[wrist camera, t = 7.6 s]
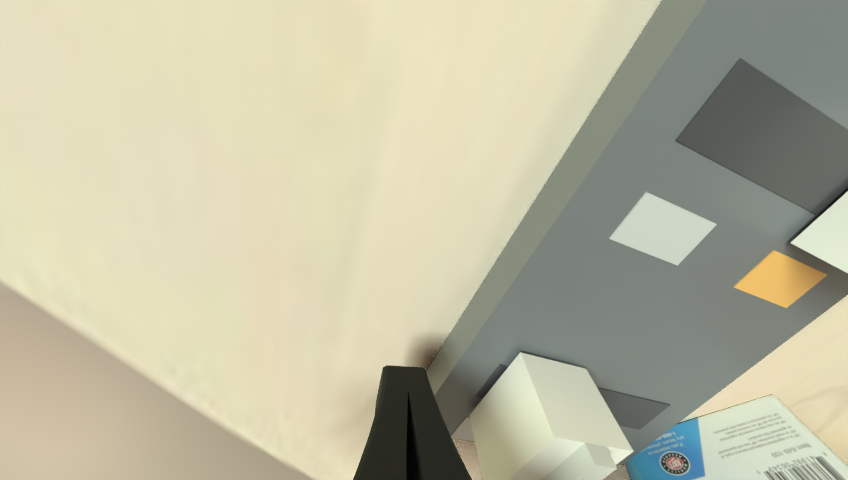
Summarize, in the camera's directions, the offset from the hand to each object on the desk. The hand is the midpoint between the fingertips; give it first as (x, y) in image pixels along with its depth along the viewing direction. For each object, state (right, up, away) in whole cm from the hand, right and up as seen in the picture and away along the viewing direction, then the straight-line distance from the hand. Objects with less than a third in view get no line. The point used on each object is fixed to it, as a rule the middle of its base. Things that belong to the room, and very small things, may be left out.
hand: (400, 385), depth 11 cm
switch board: (+9, +3, +2) cm, 10 cm away
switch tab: (+5, -1, +2) cm, 5 cm away
